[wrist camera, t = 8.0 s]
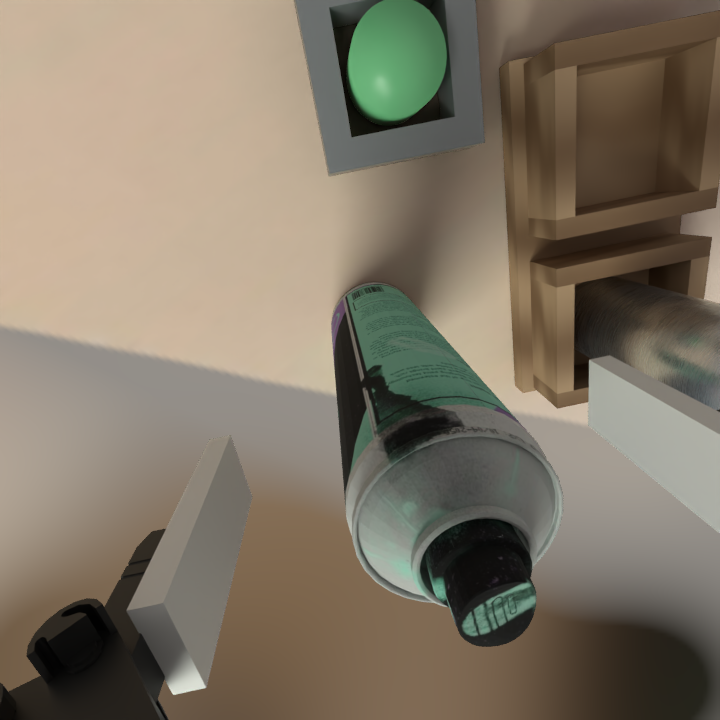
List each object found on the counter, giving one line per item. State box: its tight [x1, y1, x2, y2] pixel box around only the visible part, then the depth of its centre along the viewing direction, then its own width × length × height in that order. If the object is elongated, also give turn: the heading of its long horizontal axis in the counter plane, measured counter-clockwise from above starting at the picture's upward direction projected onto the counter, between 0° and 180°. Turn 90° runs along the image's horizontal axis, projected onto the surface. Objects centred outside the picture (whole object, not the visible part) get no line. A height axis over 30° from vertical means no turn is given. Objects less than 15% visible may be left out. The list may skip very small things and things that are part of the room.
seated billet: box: [574, 276, 720, 410], centre depth 19 cm, size 5×5×16 cm
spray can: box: [331, 282, 563, 647], centre depth 17 cm, size 6×6×20 cm
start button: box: [346, 0, 447, 126], centre depth 20 cm, size 4×4×3 cm
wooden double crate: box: [499, 10, 720, 408], centre depth 23 cm, size 19×10×4 cm, turn 11°
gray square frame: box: [294, 0, 485, 176], centre depth 20 cm, size 8×8×2 cm
